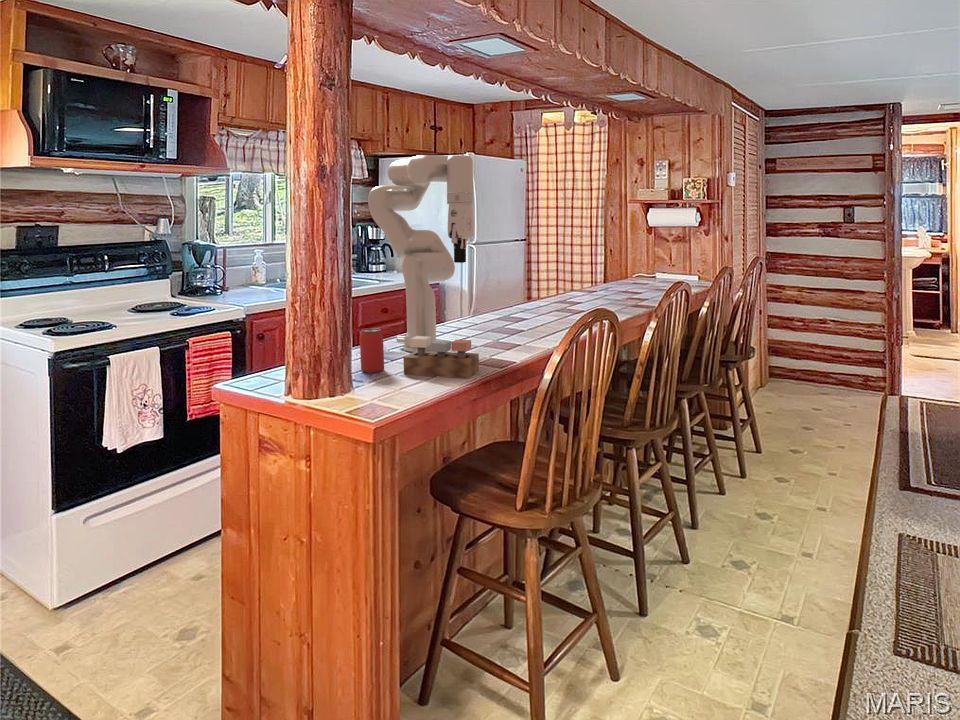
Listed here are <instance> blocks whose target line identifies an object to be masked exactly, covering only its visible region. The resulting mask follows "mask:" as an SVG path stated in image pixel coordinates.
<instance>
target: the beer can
mask: <svg viewBox="0 0 960 720" xmlns="http://www.w3.org/2000/svg"><path fill="white" fill-rule="evenodd" d="M359 349H360V350H359V352H360V353H359V354H360V368H361V369H360V370H361V371H362V373H363V372H364V373H365V372H367V373H366V374H376V373H377V372H378V373H381V372H383V371H384V370H385V356H384V355H385V353H384V352H385V351H384V336H383V333H382V330H381V328H377V327H375V328H374V327H373V328H372V327H371V328H370V327H369V328H363V329H361V332H360V336H359ZM378 373H377V374H378Z"/></svg>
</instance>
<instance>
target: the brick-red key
mask: <svg viewBox="0 0 960 720" xmlns="http://www.w3.org/2000/svg"><path fill="white" fill-rule="evenodd" d="M471 349H472V340H471V339H455V340H453V341H451V350H450V351H451V352H457V353H458V358H466V356H465V353H468V351H470V350H471Z"/></svg>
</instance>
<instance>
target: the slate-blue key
mask: <svg viewBox="0 0 960 720" xmlns="http://www.w3.org/2000/svg"><path fill="white" fill-rule="evenodd" d="M451 342H452V341H451V340H438V339H436V341H434V342H432V343H431V352H437V354H438V357H445V352H450V351H452V350H451Z"/></svg>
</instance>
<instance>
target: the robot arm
mask: <svg viewBox="0 0 960 720" xmlns="http://www.w3.org/2000/svg"><path fill="white" fill-rule="evenodd" d="M473 164H474V161H473V158H472V157H471V156H470V155H465V154H464V155H462V154H461V155H459V154H455V155H440V154H438V155H437V154H429V155H428V154H425V155H416V156H412V157H410V158H402V159H397V160H395V161H394V162H392V163H391V164H390V165H389V166H388V169H387V177H388V179H389V181H390V182H391V183H392V184H389V185H388V184H385V185H384V184H383V185H379V186H375V187H373V188H372V189H371V190H370V191H369V192H368V197H367V205H368V211H369V213H370V216H371V218H372V219H373V221H374V222H375V224H376V225H377V226H378V227H379V228H380V229H381V231H382V232H383V233H384V235H385V236H386V238H387V240H388V242H389V244H390V245H391V247H392V248H393V250H394V252H395V254H396V255H397V256H398V257H399V258H400V259H402V265H401V269H402V271H401V272H402V275H403V279H404V287H405V300H406V301H405V302H406V303H405V304H406V329H407V330H406V335H404V336H403V335H402V336H401V335H397V336H396V339H395V340H396V342H397V343H404V344H403V345H402V350H404V351H405V352H410V353H413V352H415V351H417V350H418V347H411V338H413V337H416V336H428V337H431V343H432V342H434V341H436V340H437V317H436V316H437V315H436V311H437V310H436V295H435V294H436V293H435V292H434V290H433V288H432V286H431V285H430V283H432V282H443V281H447V280H450V279H451V278H452V277H453V276H454V275H455V270H456V268H455V267H456V266H455V263H456V264H459V263H461V264H462V263H466V261H467V242H468V241H469V239H472V238H473V237H474V233H475V230H474V210H473V206H472V205H473V204H474V199H473V197H474V195H473V194H474V193H473V192H474V191H473V190H474V177H473V176H474V172H473V171H474V167H473V166H474V165H473ZM431 182H439V183H441V182H444V183H445V182H446V205H448V211H447V212H448V213H447V236H448V238H449V239H451V243H452V244H453V246H452V247H453V257H452V254H451V253H450V252H449V250H448V248H447V246H446V245H445V244H444V243H443V241H442V239H441V237H440V236H439V234H437V232H434V231H432V230H430V229H420V230H419V229H413V228H412V227H411V226H410V224H409V223H408V221H407V220H406V219H405V218H404V217H403V216H402V215H401V214H399V213H398V212H400V211H403V212H407V211H414V210H415V209H417V208H418V207H419V206H420V204H421V202H422V200H423V198H424V196H425V194H426V192H427V191H428V189H429V187H430V185H431ZM425 351H431V345H430V346H428V347H426V348H425Z"/></svg>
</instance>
